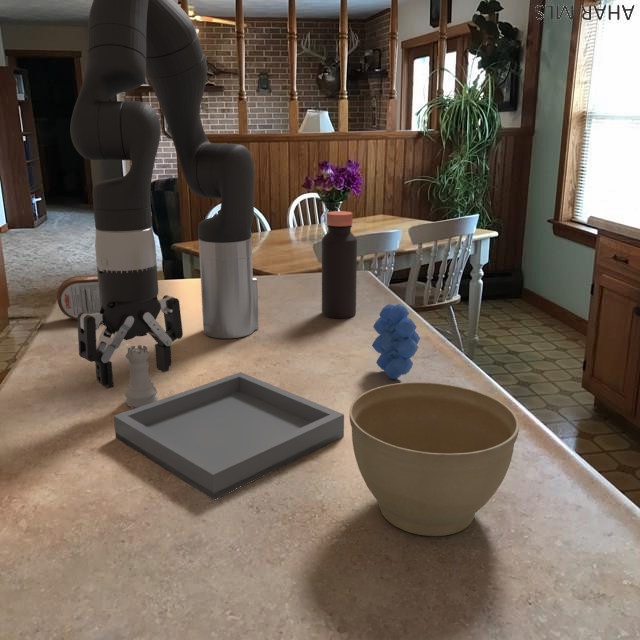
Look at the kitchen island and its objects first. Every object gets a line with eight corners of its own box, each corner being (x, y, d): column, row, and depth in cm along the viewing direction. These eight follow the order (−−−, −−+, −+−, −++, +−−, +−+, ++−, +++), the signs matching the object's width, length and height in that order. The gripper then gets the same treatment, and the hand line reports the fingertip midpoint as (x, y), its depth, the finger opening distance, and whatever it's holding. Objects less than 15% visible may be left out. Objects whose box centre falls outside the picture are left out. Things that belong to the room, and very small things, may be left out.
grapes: (437, 389, 98) (441, 310, 95) (395, 395, 96) (398, 314, 93) (401, 362, 109) (404, 289, 105) (363, 367, 107) (364, 293, 103)
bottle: (362, 312, 135) (364, 212, 129) (344, 321, 130) (346, 216, 124) (333, 307, 139) (333, 209, 133) (315, 315, 133) (314, 213, 127)
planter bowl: (477, 584, 58) (486, 471, 55) (318, 525, 66) (318, 424, 63) (529, 496, 71) (539, 401, 68) (391, 456, 79) (394, 370, 76)
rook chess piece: (149, 410, 91) (145, 355, 89) (119, 407, 92) (114, 352, 90) (163, 397, 96) (159, 344, 93) (134, 394, 96) (129, 341, 94)
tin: (139, 311, 136) (136, 270, 133) (140, 316, 133) (137, 274, 131) (59, 318, 131) (54, 276, 129) (59, 323, 129) (54, 280, 126)
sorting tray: (241, 391, 97) (240, 372, 97) (343, 436, 84) (344, 414, 83) (115, 437, 84) (113, 415, 83) (214, 500, 70) (213, 474, 70)
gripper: (158, 251, 95) (165, 359, 100) (60, 265, 86) (73, 384, 90) (189, 258, 90) (195, 372, 95) (89, 275, 81) (101, 401, 85)
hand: (135, 378), depth 93 cm, fingers open, 8 cm apart
